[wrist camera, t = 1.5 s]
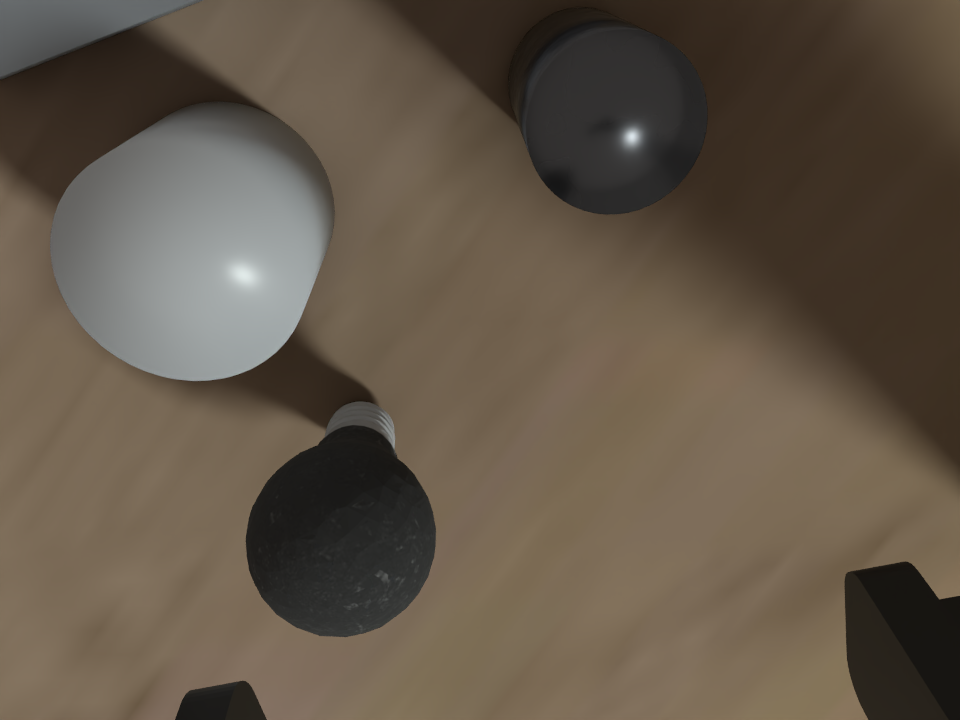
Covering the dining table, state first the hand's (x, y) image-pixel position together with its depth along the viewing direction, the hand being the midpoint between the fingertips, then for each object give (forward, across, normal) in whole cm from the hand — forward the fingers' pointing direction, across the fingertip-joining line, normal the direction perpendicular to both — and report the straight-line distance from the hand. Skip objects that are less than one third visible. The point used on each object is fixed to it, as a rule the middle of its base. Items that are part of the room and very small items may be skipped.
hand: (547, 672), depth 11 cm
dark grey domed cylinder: (+20, -4, -4) cm, 20 cm away
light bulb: (+20, +6, +6) cm, 22 cm away
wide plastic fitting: (+20, +8, -3) cm, 21 cm away
